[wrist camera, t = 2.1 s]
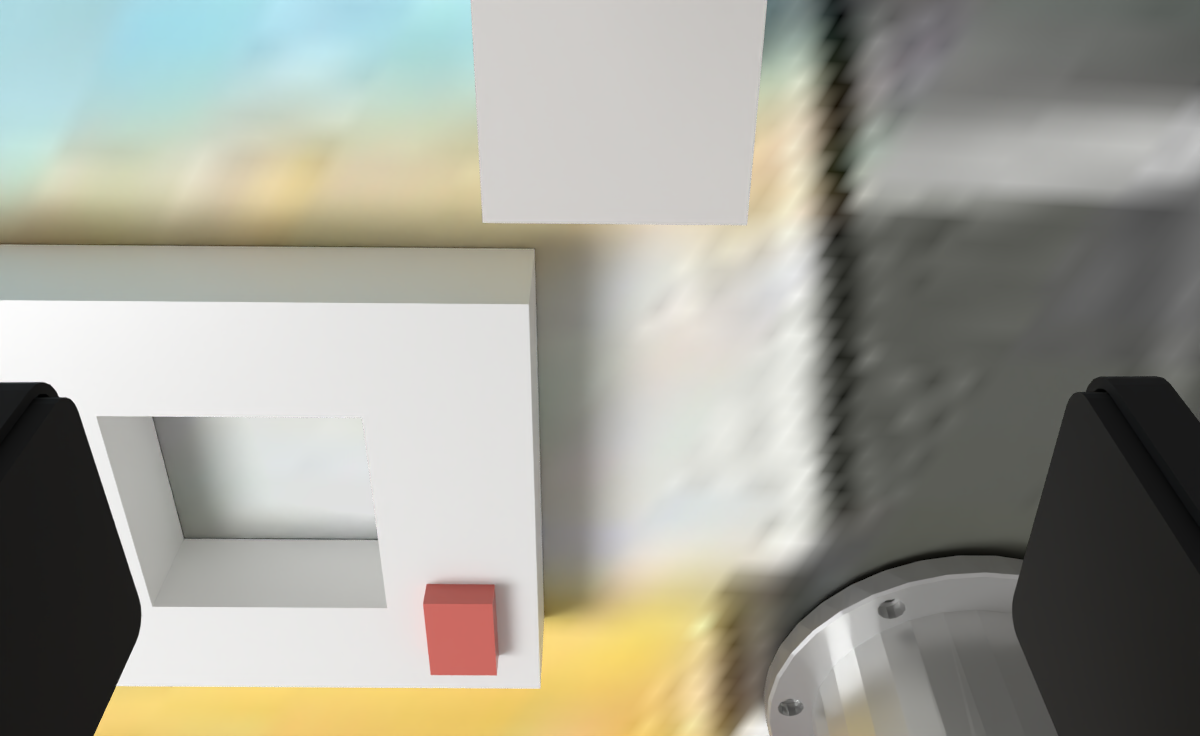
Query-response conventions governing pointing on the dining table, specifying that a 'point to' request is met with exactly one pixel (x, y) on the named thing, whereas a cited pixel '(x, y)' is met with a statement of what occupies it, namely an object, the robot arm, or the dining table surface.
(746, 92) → the plug
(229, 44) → the dining table surface
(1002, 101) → the dining table surface
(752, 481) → the dining table surface
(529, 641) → the socket plate
